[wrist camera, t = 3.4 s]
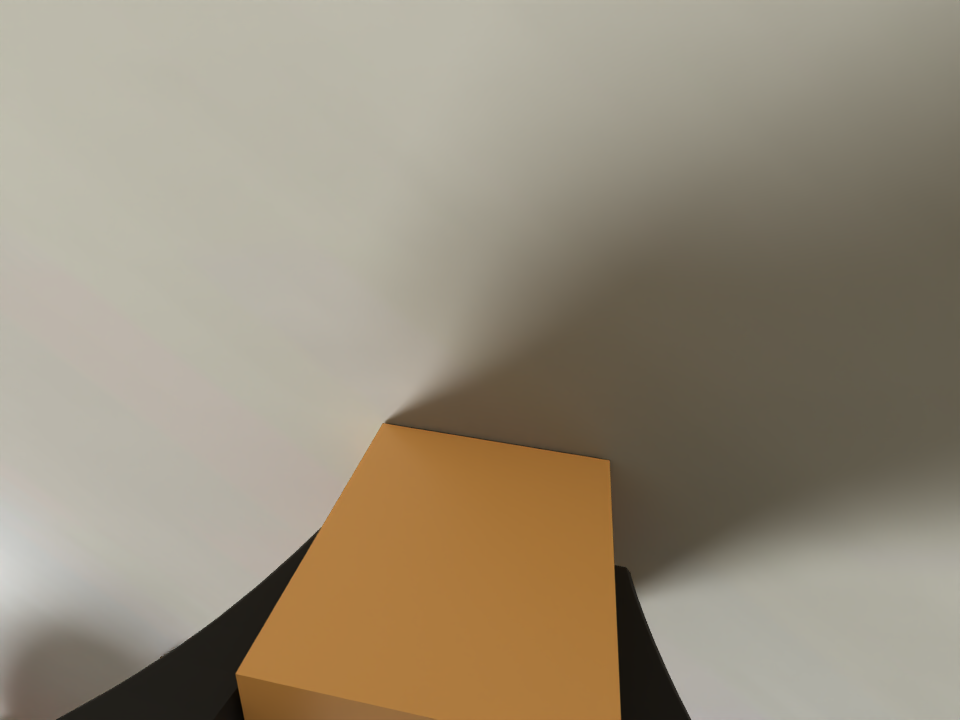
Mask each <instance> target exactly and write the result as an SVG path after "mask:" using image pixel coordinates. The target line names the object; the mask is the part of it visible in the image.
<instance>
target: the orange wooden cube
mask: <svg viewBox="0 0 960 720" xmlns="http://www.w3.org/2000/svg"><path fill="white" fill-rule="evenodd" d="M236 679H237V684H238V689H239V694H240V699H241V704H242V709H243V715H244V720H621V708H620V685H619V662H618V639H617V617H616V594H615V571H614V548H613V525H612V502H611V480H610V460H604V459H598V458H591V457H585V456H579V455H573V454H567V453H561V452H555V451H549V450H543V449H537V448H531V447H524V446H518V445H512V444H506V443H500V442H494V441H488V440H482V439H476V438H470V437H464V436H458V435H451V434H445V433H439V432H433V431H427V430H421V429H415V428H409V427H403V426H397V425H391V424H384V423H383V424H382V426H381V427H380V429H379V431H378V432H377V434H376V436H375V437H374V439H373V441H372V443H371V444H370V446H369V448H368V449H367V451H366V453H365V454H364V456H363V458H362V460H361V461H360V463H359V465H358V466H357V468H356V470H355V471H354V473H353V475H352V477H351V478H350V480H349V482H348V483H347V485H346V487H345V488H344V490H343V492H342V494H341V495H340V497H339V499H338V500H337V502H336V504H335V505H334V507H333V509H332V511H331V512H330V514H329V516H328V517H327V519H326V521H325V522H324V524H323V526H322V528H321V529H320V531H319V533H318V534H317V536H316V538H315V539H314V541H313V543H312V545H311V546H310V548H309V550H308V551H307V553H306V555H305V556H304V558H303V560H302V562H301V563H300V565H299V567H298V568H297V570H296V572H295V573H294V575H293V577H292V578H291V580H290V582H289V584H288V585H287V587H286V589H285V590H284V592H283V594H282V595H281V597H280V599H279V601H278V602H277V604H276V606H275V607H274V609H273V611H272V612H271V614H270V616H269V618H268V619H267V621H266V623H265V624H264V626H263V628H262V629H261V631H260V633H259V635H258V636H257V638H256V640H255V641H254V643H253V645H252V646H251V648H250V650H249V652H248V653H247V655H246V657H245V658H244V660H243V662H242V663H241V665H240V667H239V669H238V670H237V672H236Z"/></svg>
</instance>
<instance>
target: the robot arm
mask: <svg viewBox="0 0 960 720" xmlns="http://www.w3.org/2000/svg"><path fill="white" fill-rule="evenodd" d="M321 528H322V527H321ZM321 528H320V529H321ZM320 529H319V530H318V531H317V532H316V533H315V534H314V535H313V536H312V537H311V538H310V539H309V540H308V541H307V542H306V543H304V544H303V545H302V546H301V547H300V548H299V549H298V550H297V551H296V552H295V553H294V554H293V555H292V556H290V557H289V558H288V559H287V560H286V561H285V562H284V563H283V564H282V565H280V566H279V567H278V568H277V569H276V570H275V571H274V572H273V573H271V574H270V575H269V576H268V577H267V578H266V579H265V580H263V581H262V582H261V583H260V584H259V585H258V586H256V587H255V588H254V589H253V590H252V591H250V592H249V593H248V594H247V595H245V596H244V597H243V598H242V599H241V600H239V601H238V602H237V603H236V604H234V605H233V606H232V607H231V608H229V609H228V610H227V611H226V612H224V613H223V614H222V615H221V616H219V617H218V618H217V619H215V620H214V621H213V622H211V623H210V624H209V625H207V626H206V627H205V628H203V629H202V630H201V631H199V632H198V633H197V634H195V635H194V636H192V637H191V638H189V639H188V640H187V641H185V642H184V643H182V644H181V645H179V646H178V647H177V648H175V649H174V650H172V651H171V652H169V653H168V654H166V655H165V656H163V657H162V658H160V659H158V660H157V661H155V662H154V663H152V664H151V665H149V666H148V667H146V668H145V669H143V670H141V671H140V672H138V673H137V674H135V675H134V676H132V677H130V678H129V679H127V680H125V681H124V682H122V683H121V684H119V685H117V686H115V687H114V688H112V689H110V690H109V691H107V692H105V693H103V694H101V695H100V696H98V697H96V698H94V699H93V700H91V701H89V702H87V703H85V704H84V705H82V706H80V707H78V708H76V709H75V710H73V711H71V712H69V713H67V714H66V715H64V716H62V717H60V718H58V719H57V720H244V715H243V709H242V704H241V699H240V694H239V689H238V684H237V679H236V672H237V670H238V669H239V667H240V665H241V663H242V662H243V660H244V658H245V657H246V655H247V653H248V652H249V650H250V648H251V646H252V645H253V643H254V641H255V640H256V638H257V636H258V635H259V633H260V631H261V629H262V628H263V626H264V624H265V623H266V621H267V619H268V618H269V616H270V614H271V612H272V611H273V609H274V607H275V606H276V604H277V602H278V601H279V599H280V597H281V595H282V594H283V592H284V590H285V589H286V587H287V585H288V584H289V582H290V580H291V578H292V577H293V575H294V573H295V572H296V570H297V568H298V567H299V565H300V563H301V562H302V560H303V558H304V556H305V555H306V553H307V551H308V550H309V548H310V546H311V545H312V543H313V541H314V539H315V538H316V536H317V534H318V533H319V531H320ZM614 571H615V594H616V617H617V639H618V662H619V685H620V708H621V720H691V718H690V716H689V714H688V712H687V710H686V708H685V706H684V705H683V703H682V701H681V699H680V697H679V695H678V692H677V690H676V688H675V686H674V684H673V682H672V680H671V678H670V676H669V673H668V671H667V669H666V667H665V664H664V662H663V660H662V657H661V655H660V653H659V651H658V648H657V646H656V644H655V641H654V639H653V636H652V634H651V632H650V629H649V626H648V624H647V621H646V619H645V616H644V613H643V611H642V608H641V605H640V602H639V600H638V597H637V594H636V591H635V587H634V584H633V581H632V578H631V574H630V572H629V571H628V569H627V568H626V567H621V566H616V565H614Z"/></svg>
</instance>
